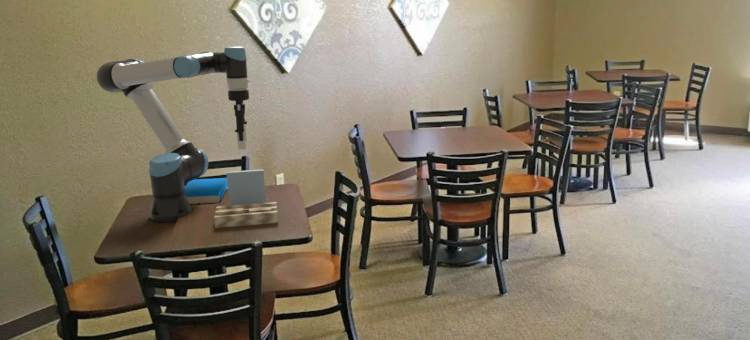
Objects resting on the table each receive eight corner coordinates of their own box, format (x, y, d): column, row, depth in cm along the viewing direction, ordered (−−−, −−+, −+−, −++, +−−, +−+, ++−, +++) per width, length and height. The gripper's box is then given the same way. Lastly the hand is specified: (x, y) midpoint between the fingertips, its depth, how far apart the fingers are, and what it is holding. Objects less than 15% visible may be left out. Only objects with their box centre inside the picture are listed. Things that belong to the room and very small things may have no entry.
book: (177, 196, 243) (189, 178, 267) (178, 206, 245) (190, 188, 269) (220, 194, 245) (228, 176, 269) (221, 204, 246) (229, 186, 270)
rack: (215, 231, 213) (214, 217, 212) (217, 220, 225) (216, 206, 223) (278, 226, 217) (277, 212, 216) (277, 215, 228) (276, 201, 227)
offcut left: (218, 225, 215) (217, 212, 214) (219, 223, 217) (217, 210, 216) (244, 223, 217) (243, 210, 215) (244, 221, 219) (243, 208, 218)
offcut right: (249, 222, 217) (248, 211, 216) (250, 220, 219) (249, 208, 218) (272, 221, 218) (271, 209, 217) (272, 218, 221) (271, 207, 220)
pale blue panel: (229, 212, 233) (226, 173, 229) (230, 211, 235) (226, 171, 231) (266, 210, 235) (263, 170, 231) (266, 208, 237) (263, 169, 233)
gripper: (247, 93, 212) (252, 151, 217) (249, 84, 235) (253, 137, 241) (225, 94, 210) (230, 153, 216) (229, 85, 234) (233, 138, 239)
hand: (242, 145), depth 228 cm, fingers open, 13 cm apart
